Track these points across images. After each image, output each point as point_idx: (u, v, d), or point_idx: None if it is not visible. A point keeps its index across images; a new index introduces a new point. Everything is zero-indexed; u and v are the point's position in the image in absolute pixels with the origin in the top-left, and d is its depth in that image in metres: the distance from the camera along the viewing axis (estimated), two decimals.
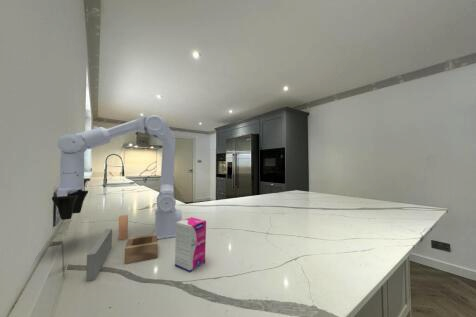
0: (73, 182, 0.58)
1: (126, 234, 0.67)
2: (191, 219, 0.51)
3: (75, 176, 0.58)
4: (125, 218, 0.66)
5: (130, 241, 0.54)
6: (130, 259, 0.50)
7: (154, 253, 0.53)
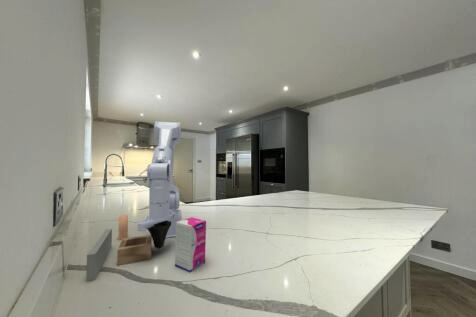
0: (156, 213, 0.54)
1: (126, 234, 0.67)
2: (191, 220, 0.51)
3: (158, 207, 0.54)
4: (125, 218, 0.66)
5: (123, 242, 0.54)
6: (123, 260, 0.50)
7: (148, 254, 0.52)
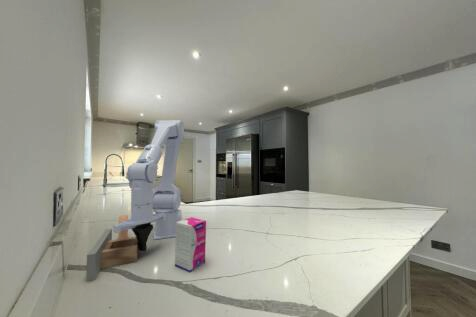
0: (135, 215, 0.52)
1: (126, 234, 0.67)
2: (191, 219, 0.51)
3: (136, 209, 0.52)
4: (125, 218, 0.66)
5: (109, 244, 0.52)
6: (107, 263, 0.48)
7: (133, 257, 0.51)
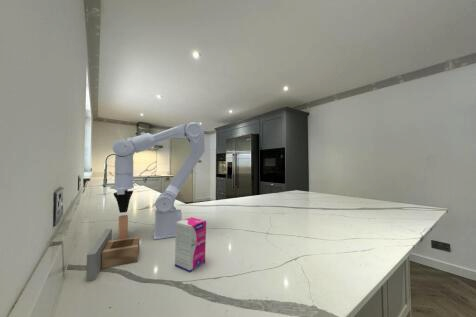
0: (126, 182, 0.65)
1: (126, 234, 0.67)
2: (191, 219, 0.51)
3: (128, 177, 0.66)
4: (125, 218, 0.66)
5: (109, 244, 0.52)
6: (108, 263, 0.48)
7: (134, 257, 0.51)
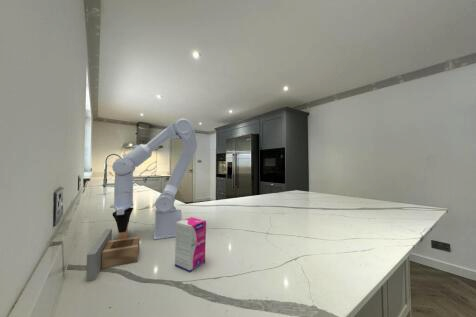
0: (126, 201, 0.65)
1: (126, 234, 0.67)
2: (191, 219, 0.51)
3: (127, 195, 0.66)
4: None
5: (109, 244, 0.52)
6: (108, 263, 0.48)
7: (134, 257, 0.51)
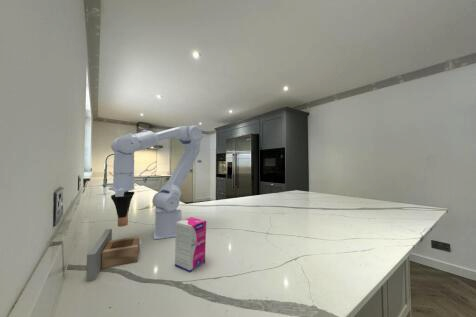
0: (126, 182, 0.59)
1: (126, 220, 0.60)
2: (191, 219, 0.51)
3: (128, 176, 0.59)
4: None
5: (109, 244, 0.52)
6: (108, 263, 0.48)
7: (134, 257, 0.51)
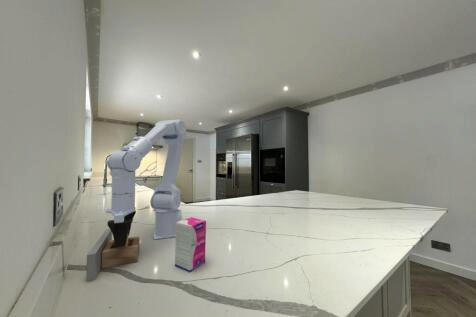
0: (126, 204, 0.51)
1: None
2: (191, 219, 0.51)
3: (128, 197, 0.52)
4: None
5: (109, 244, 0.52)
6: (108, 263, 0.48)
7: (134, 257, 0.51)
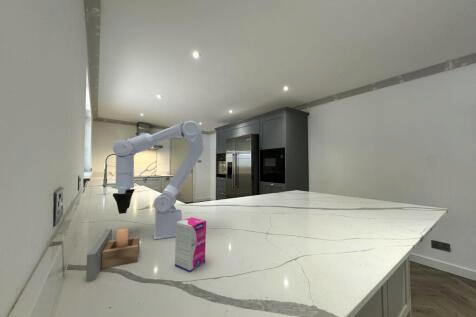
0: (127, 181, 0.67)
1: None
2: (191, 219, 0.51)
3: (128, 176, 0.68)
4: (125, 232, 0.52)
5: (109, 244, 0.52)
6: (108, 263, 0.48)
7: (134, 257, 0.51)
